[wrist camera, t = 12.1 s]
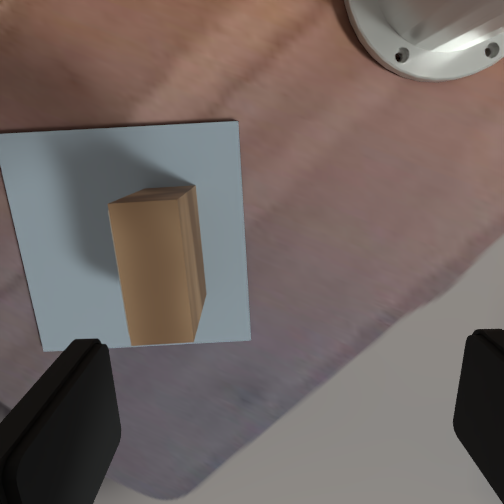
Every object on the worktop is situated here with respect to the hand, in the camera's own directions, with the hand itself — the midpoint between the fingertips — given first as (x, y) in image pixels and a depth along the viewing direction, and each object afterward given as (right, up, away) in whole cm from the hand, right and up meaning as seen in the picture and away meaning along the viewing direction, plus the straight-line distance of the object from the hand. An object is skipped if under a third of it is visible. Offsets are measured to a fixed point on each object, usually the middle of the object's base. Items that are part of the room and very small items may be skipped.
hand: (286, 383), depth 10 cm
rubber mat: (-9, +4, +17) cm, 20 cm away
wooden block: (-6, +4, +17) cm, 18 cm away
